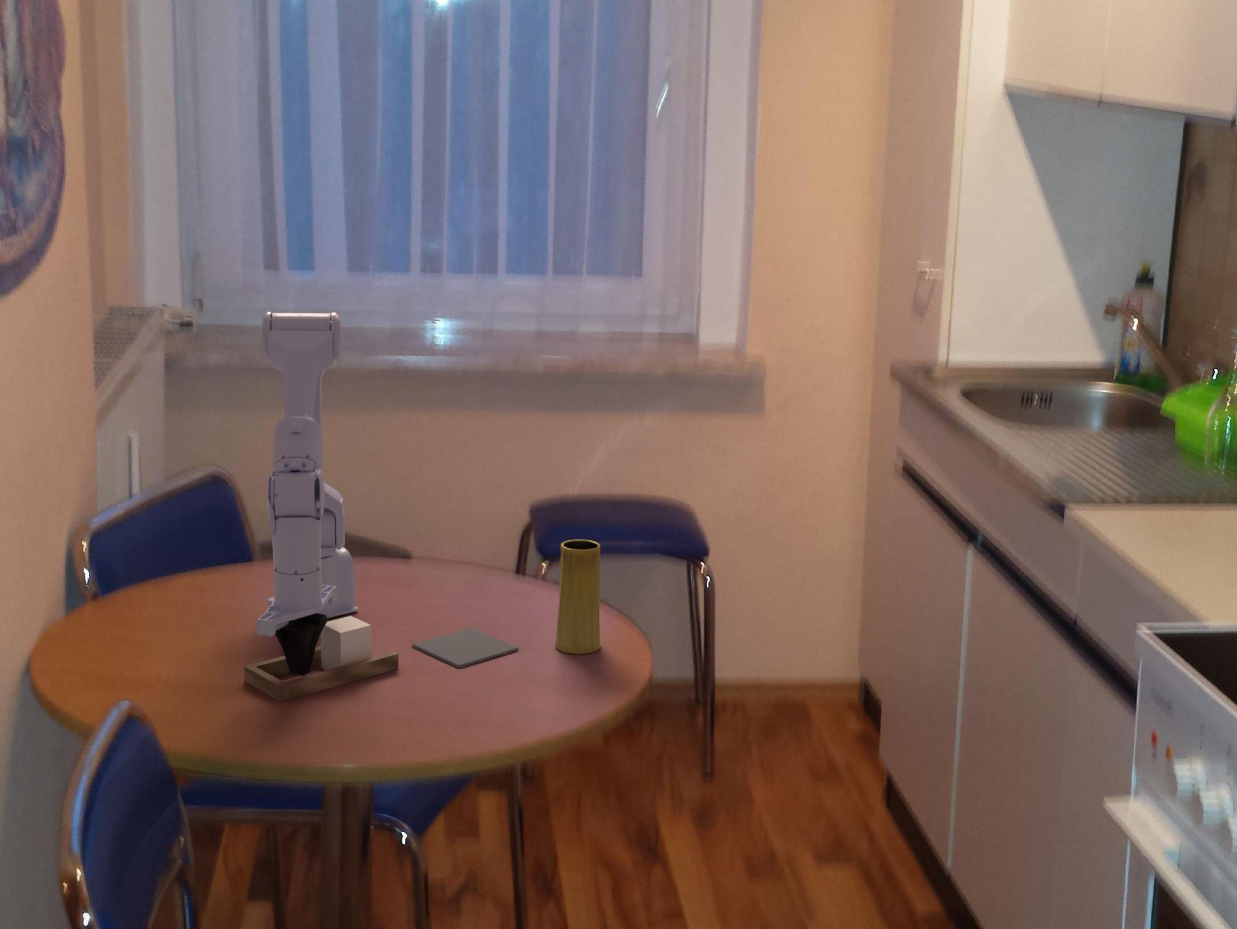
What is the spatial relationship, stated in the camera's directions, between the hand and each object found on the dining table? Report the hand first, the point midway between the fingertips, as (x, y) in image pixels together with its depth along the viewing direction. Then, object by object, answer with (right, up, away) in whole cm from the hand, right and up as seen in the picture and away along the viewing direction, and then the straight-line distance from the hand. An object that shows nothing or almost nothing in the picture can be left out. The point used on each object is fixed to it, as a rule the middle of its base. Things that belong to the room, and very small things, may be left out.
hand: (299, 672), depth 176 cm
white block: (+5, 0, +5) cm, 7 cm away
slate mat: (+19, +1, +13) cm, 23 cm away
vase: (+34, +1, +15) cm, 37 cm away
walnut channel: (+2, -1, +3) cm, 3 cm away
